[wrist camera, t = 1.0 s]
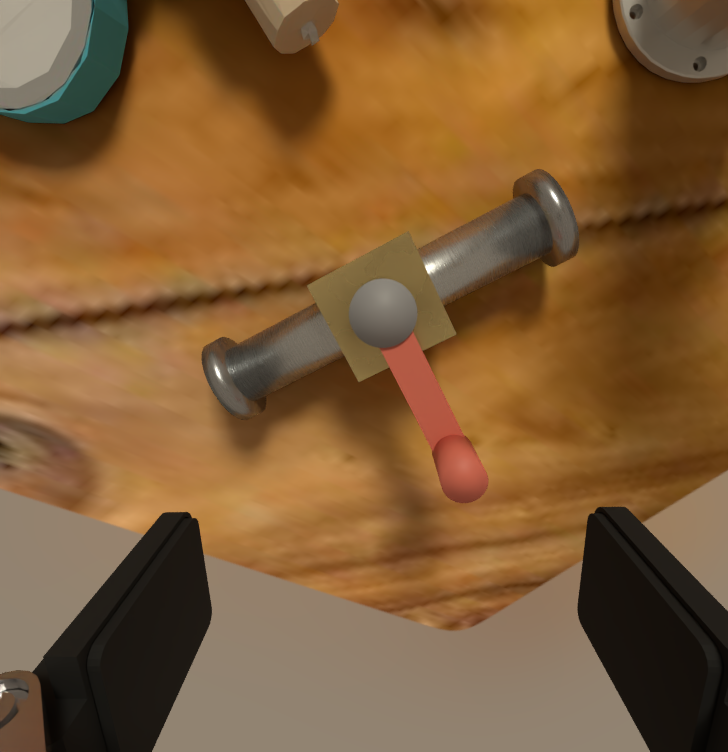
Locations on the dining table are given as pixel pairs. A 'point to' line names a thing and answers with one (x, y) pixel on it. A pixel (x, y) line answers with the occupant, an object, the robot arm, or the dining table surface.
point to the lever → (417, 383)
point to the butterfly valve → (105, 49)
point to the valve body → (413, 270)
